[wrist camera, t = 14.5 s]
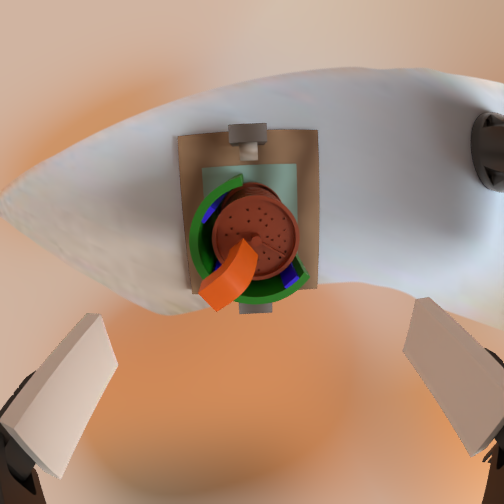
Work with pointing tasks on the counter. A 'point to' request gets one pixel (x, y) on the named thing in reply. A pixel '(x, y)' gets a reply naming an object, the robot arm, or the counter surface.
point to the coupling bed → (255, 170)
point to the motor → (245, 246)
